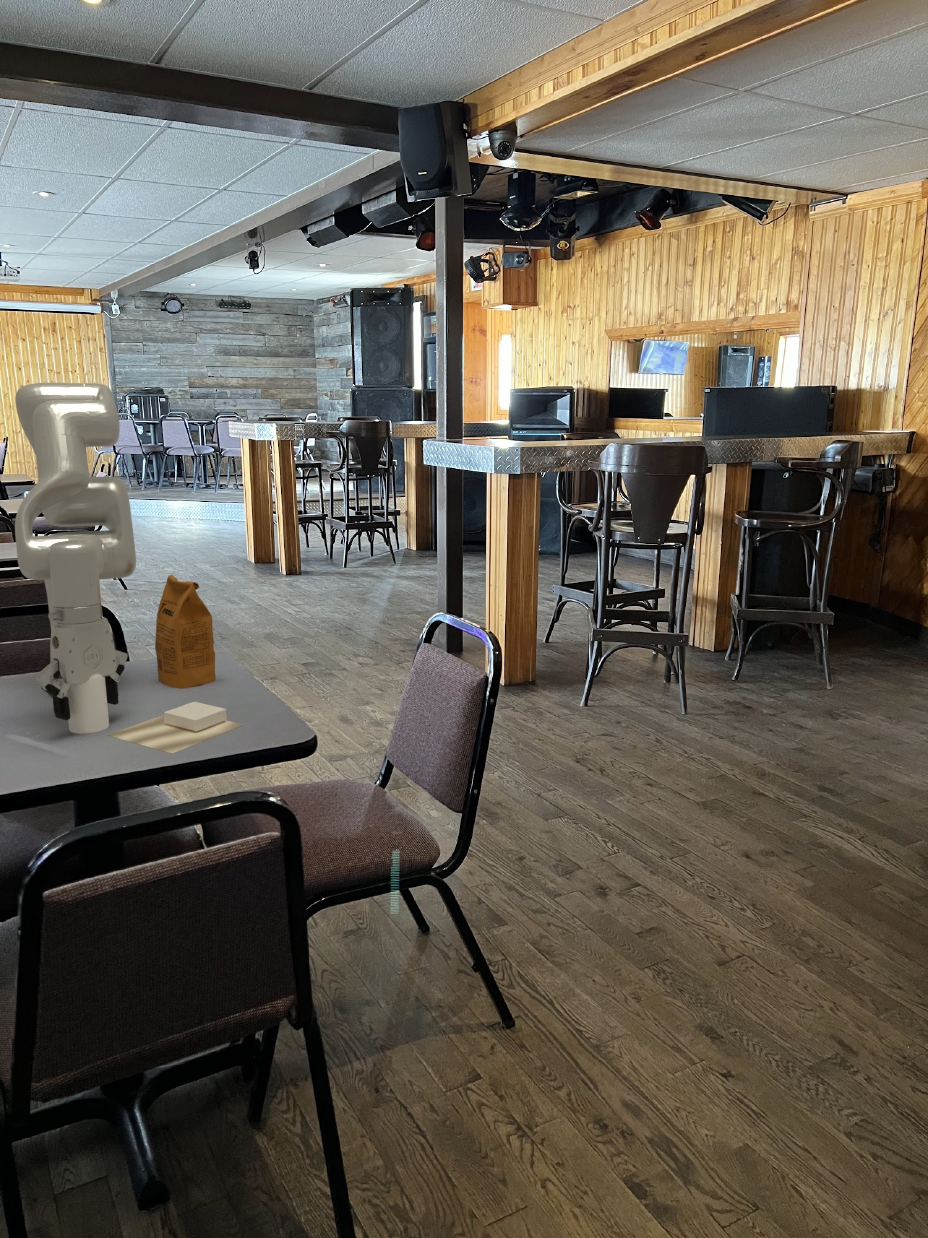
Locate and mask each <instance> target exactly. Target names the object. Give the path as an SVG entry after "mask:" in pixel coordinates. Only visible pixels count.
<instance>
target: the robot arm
mask: <svg viewBox="0 0 928 1238" xmlns="http://www.w3.org/2000/svg"><path fill="white" fill-rule="evenodd" d="M14 399H15V402H14V403H15V407H16V413H17V416H18V420H19V423H20V426H21V428H22V430H23V432H24V435H25V437H26V438H27V440H28V442H29V444H30V446H31V448H32V450H33V453H34V456H35V461H36V471H37V478H38V479H37V483H36V484H35V486H34V487H32V488H31V490H30V491H29V492H28V493H26V496H24V498H23V499H22V502H20V505H19V507H18V510H17V512H16V516H15V520H14V521H15V523H14V533H15V534H14V536H15V544H16V545H15V546H16V557H17V564H18V567H19V570H20V572H21V574H22V575H23V576H24V577H25V578H27V579H30V580H32V581H40V580H41V581H42V580H43V581H44V585H45V586H44V587H45V591H46V596H47V604H48V615H47V616H48V619H49V623H50V633H51V634H50V643H49V644H50V647H49V649H50V652H49V653H50V657H49V658H50V663H49V664H47V665H46V666H45V667H44V668H43V669H41V670H40V671H39V672H38V673H37V674H35V680H36V682H37V683H38V684H39V685H40V687H41V690H43V691H44V692H45V693H47V694H48V695H49V696H50V697H52V705H53V707H52V708H53V714H54V716H55V718H56V719H61V720H63V721H68V720H69V719H70V708H69V699H68V697H66V692H67V691H68V689H69V687H70V685H77V684H81V683H85V682H86V681H88V680H89V678H90V677H91V676H93V675H94V674H100V675H101V676H102V677H105V684H106V695H107V704H111V705H114V706H115V705H118V704H119V702H120V701H119V688H118V686H119V685H118V683H119V682H120V680H121V675H122V674H123V672H124V670H125V668H126V667H125V665H126V663H127V659H128V653H126V652H122V651H121V650H117V649H116V646H115V641H114V637H113V633H112V630H111V627H110V624H109V620H108V618H106V617H104V616H103V606H102V604H103V603H102V594H101V584H100V580H111V579H112V580H114V579H123V578H127V577H130V576H132V575H133V573H134V572H135V570H136V567H137V565H136V564H137V554H136V544H135V537H134V529H133V528H134V527H133V520H132V512H131V504H130V498H129V493H128V490H127V487H126V484H124V482H123V481H122V480H121V479H120V478H117V477H114V476H90V469H89V461H88V453H87V448H88V447H89V448H91V447H95V448H97V447H103V448H105V447H113V446H115V445H116V444H117V442H118V441H119V438H120V430H121V428H120V427H121V426H120V418H119V417H120V416H119V412H118V409H117V405H116V401H115V397H114V394H113V392H112V390H111V389H110V387H109V386H107V385H105V384H103V383H93V382H91V383H89V382H88V383H86V382H84V383H83V382H37V383H36V382H35V383H29V384H26V385H23V386H21V387H19V388H18V389H17V390H16V393H15V398H14ZM41 513H42V514H43V516H44V519H45V521H46V522H47V523H49V524H50V525H51V526H56V527H70V528H71V527H89V526H103V527H105V528H107V530H95V531H94V530H91V531H87V530H85V531H84V530H83V531H67V532H66V531H65V532H57V533H52V534H50V535H38V536H34V534H33V526H34V523H35V521H36V519H37V518H38V517H39V515H40V514H41ZM50 677H52V679H53V683H51V681H50Z"/></svg>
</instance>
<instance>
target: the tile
mask: <svg viewBox="0 0 928 1238" xmlns="http://www.w3.org/2000/svg"><path fill="white" fill-rule="evenodd" d="M163 715H164V723H166V724H167V725H170V726H174V727H178V728H181V729H185V730H189V731H193V732H199V731H201V730H204V729H206V728H209V727H212V726H214V725H217V724H219V723H222V722H225V720H226V721H228V720H227V719H228V717H227V708H224V707H220V706H215V705H210V704H205V703H202V702H199V701H198V702H197V701H192V702H188V703H186V704H183V705H181V706H178V707H175V708H172V709H169V710H167V711H164V712H163Z"/></svg>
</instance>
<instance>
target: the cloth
mask: <svg viewBox="0 0 928 1238" xmlns="http://www.w3.org/2000/svg"><path fill="white" fill-rule="evenodd" d="M243 726H244V724H242V723H238V722H234V721H230V720H225V722H222V723H219V724H217V725H214V726H212V727H209V728H206V729H204V730H201V731H199V732H193V731H189V730H185V729H181V728H178V727H174V726H170V725H167V724H166V723H164V714H163V715H159V716H156V717H154V718H151V719H148V720H145V721H143V722H140V723H137V724H134V725H131V726H129V727H125V728H123V729H120V730H117V731H114V732H112V733H111V732H110V733H109V734H107V736H108V737H112V738H115V739H119V740H122V741H126V742H129V743H133V744H137V745H141V746H143V747H147V748H151V749H155V750H158V751H161V752H163V753H164V752H165V753H169V754H173V755H174V754H175V753H178V752H180V751H182V750H184V749H185V750H186V749H187V748H189V747H192V746H195V745H198V744H200V743H203V742H205V741H207V740H211V739H213V738H215V737H217V736H220V735H222V734H225V733H228V732H229V731H232V730H235V729H238V728H240V727H243Z"/></svg>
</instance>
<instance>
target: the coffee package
mask: <svg viewBox="0 0 928 1238" xmlns="http://www.w3.org/2000/svg"><path fill="white" fill-rule="evenodd" d="M199 588H200V585H199V583H197V582H195V581H180V580H178V578H177V577H176V576H175V575H173V574H169V575H168V576H167V579H166V582H165V585H164V589H163V591H162V595H161V598H160V602H159V605H158V609H157V613H156V623H155V624H156V626H155V627H156V628H155V642H154V643H155V644H154V647H155V648H154V649H155V654H156V662H157V667H156V669H157V676H158V677H157V678H158V683H160V682H162V684H164V685H166V686H168V687H171V688H176V689H189V688H195V687H198V686H202V685H207V684H211V683H213V682H216V652H215V648H214V645H215V644H214V643H215V641H214V631H213V616H212V613H211V612H210V610H209V609H208V607H207V606H206V604H205V603H204V602H203V600H202V599H201V597H200V596H199V595H198V593H197V590H198V589H199Z"/></svg>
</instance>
